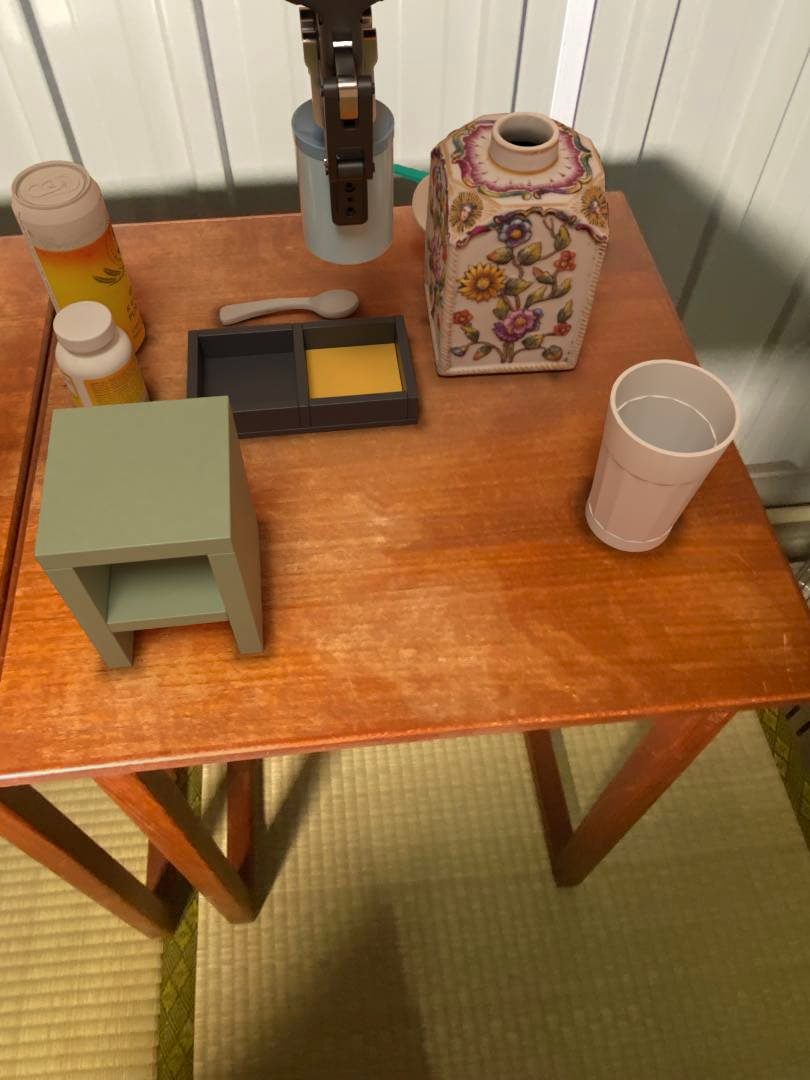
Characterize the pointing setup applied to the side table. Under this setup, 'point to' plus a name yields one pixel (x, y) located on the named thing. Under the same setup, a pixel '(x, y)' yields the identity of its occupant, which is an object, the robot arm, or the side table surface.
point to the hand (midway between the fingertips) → (345, 187)
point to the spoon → (294, 306)
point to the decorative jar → (513, 244)
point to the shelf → (150, 522)
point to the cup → (657, 450)
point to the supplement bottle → (96, 357)
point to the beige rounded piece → (421, 203)
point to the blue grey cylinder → (315, 193)
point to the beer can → (74, 241)
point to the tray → (307, 374)
